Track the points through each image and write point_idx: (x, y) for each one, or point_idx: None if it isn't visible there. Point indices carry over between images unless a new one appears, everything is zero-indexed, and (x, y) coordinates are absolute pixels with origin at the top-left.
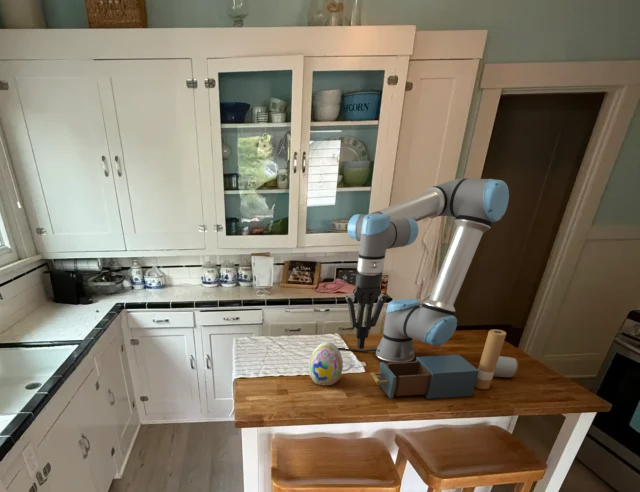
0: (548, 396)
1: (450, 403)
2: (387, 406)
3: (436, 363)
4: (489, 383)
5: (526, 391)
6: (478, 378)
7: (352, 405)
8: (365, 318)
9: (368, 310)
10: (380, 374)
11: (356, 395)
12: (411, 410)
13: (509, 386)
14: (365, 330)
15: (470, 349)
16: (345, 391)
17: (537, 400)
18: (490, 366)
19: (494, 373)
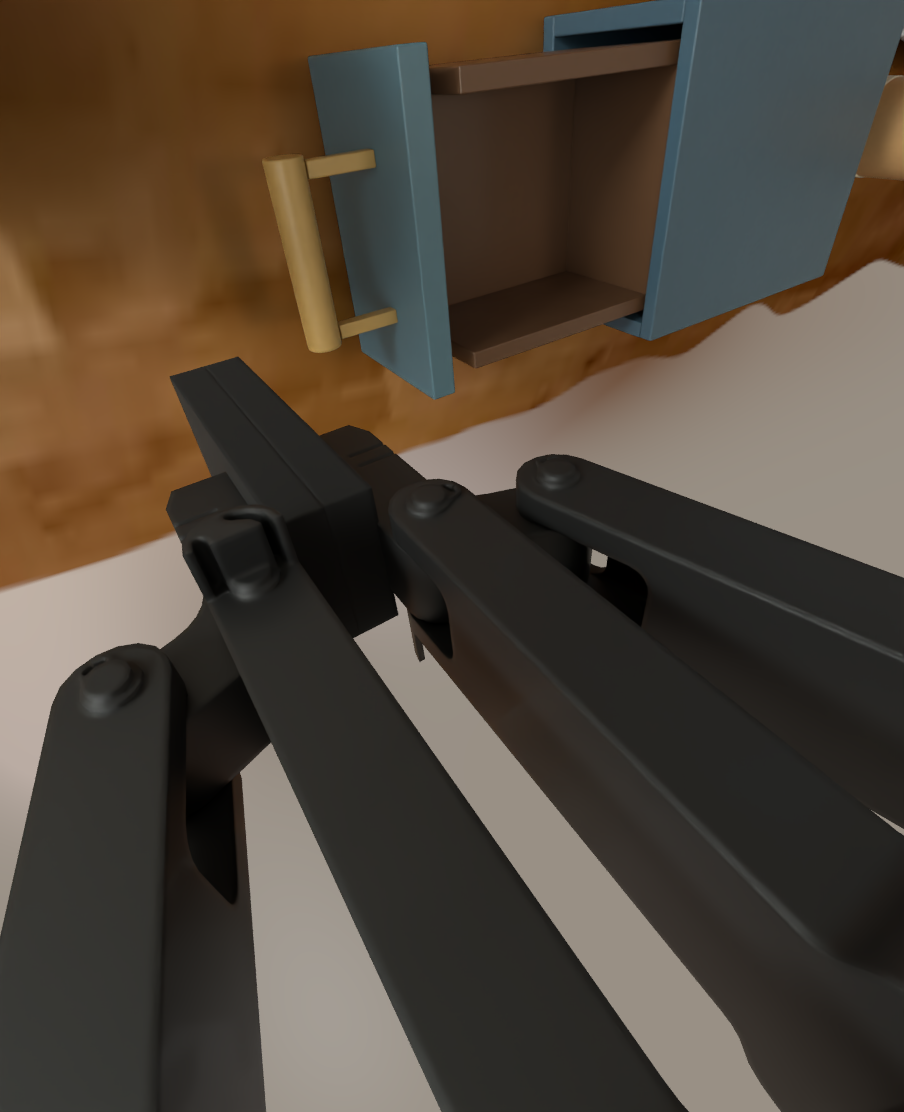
0: (874, 233)
1: (603, 332)
2: (337, 415)
3: (737, 167)
4: None
5: (861, 189)
6: None
7: (122, 448)
8: (491, 660)
9: (673, 949)
10: (354, 171)
11: (132, 293)
12: (439, 430)
13: None
14: (380, 609)
15: None
16: (13, 221)
17: (832, 269)
18: (895, 179)
19: (900, 38)
